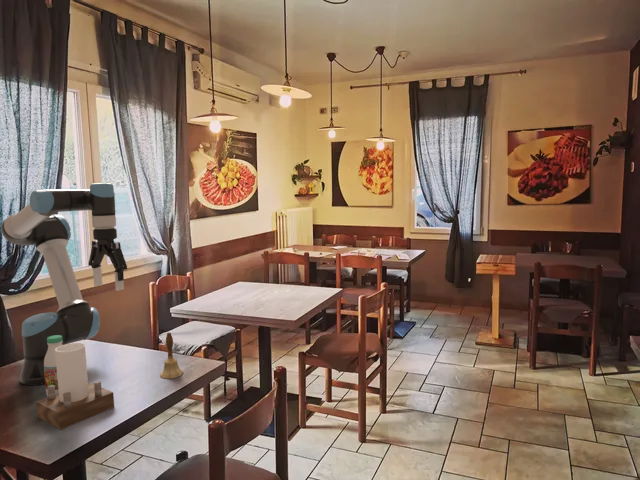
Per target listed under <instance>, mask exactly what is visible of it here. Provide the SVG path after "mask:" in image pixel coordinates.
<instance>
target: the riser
mask: <svg viewBox="0 0 640 480" xmlns="http://www.w3.org/2000/svg"><path fill="white" fill-rule="evenodd" d="M47 390H48V396H47V397H45V398H42V399H39V400H36V401H35V405H36V415H37V418H38V417H39V418H38V419H40V420H42V421H44V422H46V423H48V424H50V425H51V426H53V427H54V428H57V429H58V430H60V431H61V430H63V429H65V428H67V427H70V426H73V425H75V424H78V423H80V422H82V421H85V420H87V419H89V418H92V417H94V416H97V415H100V414H102V413H104V412H106V411H109V410H111V409H113V408H115V399H114V397H115V396H114V392H113V391H111V390H109V389H106V388H104V387H102V381H95V382H94V383H92V382H88V390H89V395H88V396H87V397H86V398H84V399H82V400H79V401H76V402H71V393H70V392H67V393H64V394H63V400H64V402H61V401H60V400H59V394H56V395H55V385H50V386H48V387H47Z"/></svg>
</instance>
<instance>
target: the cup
mask: <svg viewBox="0 0 640 480" xmlns="http://www.w3.org/2000/svg"><path fill="white" fill-rule="evenodd" d="M86 353H87V352H86V345H85V344H84V343H82V342H73V343H69V344H65V345H62V346H59V347H57V348H56V349H55V354H56V366H57V378H58V390H59V400H60V401H61V402H64V400H63V394H64V393H67V392H70V393H71V402H76V401H79V400H82V399H84V398H86V397H87V396H88V395H89V390H88V383H89V382H88V381H89V379H88V369H87V368H88V366H87V355H86Z"/></svg>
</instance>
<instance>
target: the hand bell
mask: <svg viewBox="0 0 640 480" xmlns="http://www.w3.org/2000/svg"><path fill="white" fill-rule="evenodd" d="M165 346H166V348H167V357H168V358H167V359H166V360H165V361H164V362H163V363H164V365H163V369H162V372H161V373H160V374H159V376H160V378H161V379H164V378H165V380H171V379H175V378H178V377H181V376H183V374H184V371H183V370H182V369H181V368H180V367H179V364H178V360H177V359H176V358H174V355H173V347H174V338H173V336H172V332H166V337H165Z"/></svg>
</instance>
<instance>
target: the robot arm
mask: <svg viewBox="0 0 640 480" xmlns="http://www.w3.org/2000/svg"><path fill="white" fill-rule="evenodd" d="M115 195H116V193H115V190H114V185H113V184H112V183H110V182H103V183H102V182H97V183H96V182H95V183H91V184H90V186H89V188H81V189H77V188H75V189H74V188H73V189H45V188H44V189H37V190H33V191H31V193H30V196H29V203H28V204H27V205H25V207H24V206H23V208H22V209H21V210H19V212H17V213H14V214H11V215H9V216H8V217H6V218H5V219H4V220H3V222H2V224H1V227H0V230H1V233H2V236H3V237H4V239H6V241H8V242H9V243H12V244H13V245H18V246H35V247H36V251H38V252H39V253H41V254H42V256H43V259H44V262H45V266H46V268H47V272H48V275H49V278H50V281H51V284H52V288H53V290H54V294H55V298H56V300H57V303H58V309H57V310H56V312H55V311H47V312H42V313H38V314H34V315H32V316H29V317H27V318H26V319H24V320H23V322H22V323H21V333H20V334H21V337H22V338H21V339H22V348H23V357H24V358H23V359H24V360H23V363H22V367H21V368H22V369H21V371H20V375H19V377H20V383H21V384H22V385H26V386H38V385H39V386H40V385H41V386H42V385H45V375H44V358H45V355H46V353H47V350H48V344H47V338H48V337H50V336H54V335H61V336H62V341H63V342H62V345H66V344H71V343H78V342H81V341H86V340H88V339H91V338H93V337H95V336H96V335H97V334H98V332H99V331H100V326H101V318H100V314H99V311H98V309H97V308H96V307H92V306H90V304H89V302H88V301H87V300H84V299H83V296H82V293H81V290H80V287H79V284H78V280H77V278H76V275H75V271H74V269H73V265H72V262H71V259H70V256H69V252H68V250H67V246H68V244H69V240H71V235H72V232H71V230H72V229H71V226H70V223H69V222H68V220H67V219H66V218H65V217H64V216H63V215H60V214H56V213H63V212H77V211H78V212H79V211H80V212H82V211H91V223H92V228H93V229H92V235H93V240H92V241H91V249H90V255H89V259H88V266H89V267H91V268H92V273H93V274H92V276H93V287H99V286H103V275H102V274H103V273H102V265H101V264H102V262H103V259H104V257H105V256H107V258H109V260H110V262H111V263H112V266H113V268H114V269H115V270H114V283H115V291H116V292H118V291H122V290H125V281H124V280H125V279H124V278H125V277H124V271H126V270H127V269H128V264H127V262H126V260H125V257H124V254H123V251H122V250H123V249H122V247H121V242H119V241H117V242H115V239H117V238H118V233H117V232H118V231H117V228H116V226H117V218H116V201H115Z"/></svg>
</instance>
